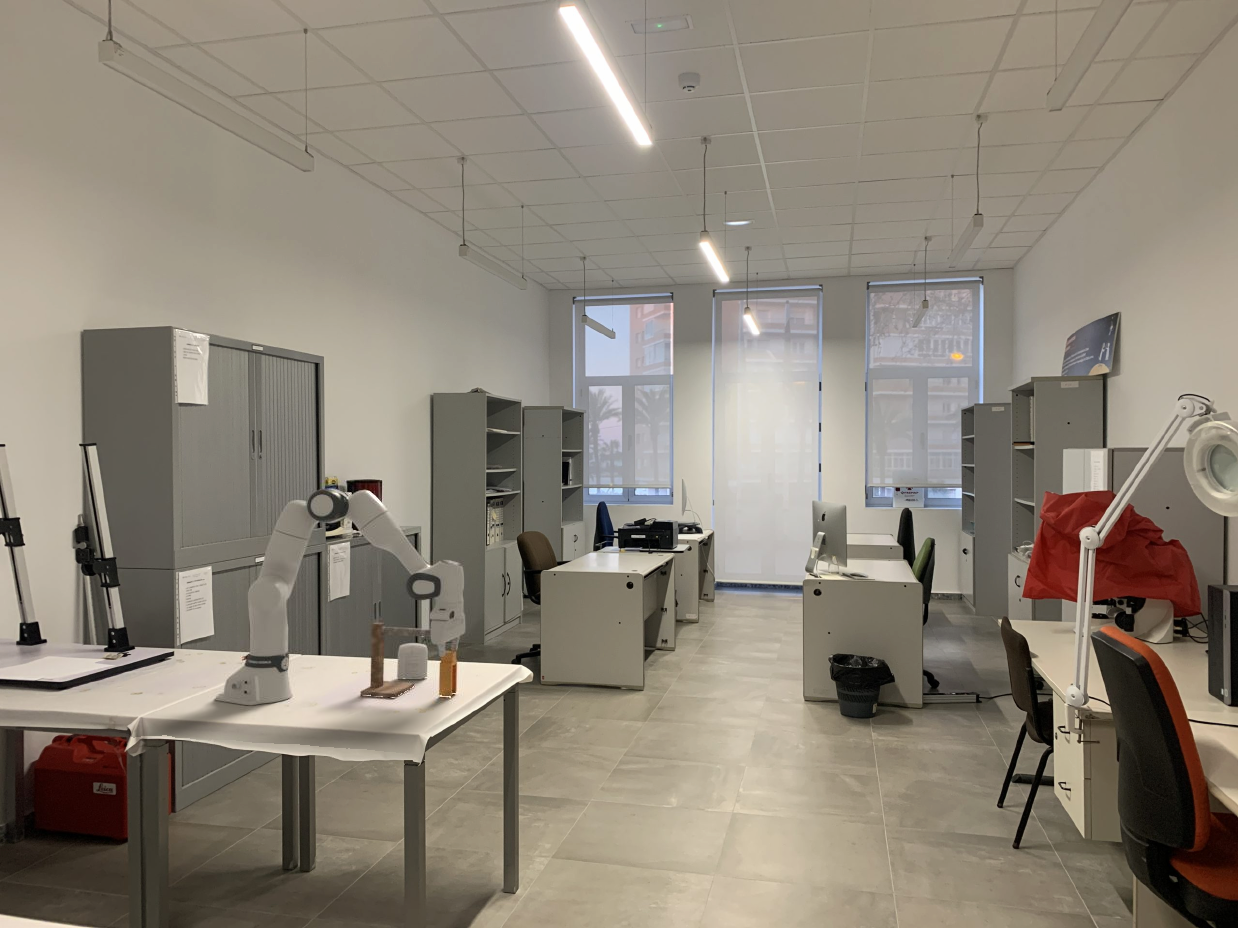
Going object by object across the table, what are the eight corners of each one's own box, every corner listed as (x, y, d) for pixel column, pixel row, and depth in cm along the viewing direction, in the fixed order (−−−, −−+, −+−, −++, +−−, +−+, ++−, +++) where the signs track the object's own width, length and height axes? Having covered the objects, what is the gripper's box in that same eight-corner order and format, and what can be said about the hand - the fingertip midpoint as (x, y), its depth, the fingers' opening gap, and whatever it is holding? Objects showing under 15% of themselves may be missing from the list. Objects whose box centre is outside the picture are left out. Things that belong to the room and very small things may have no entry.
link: (439, 697, 257) (439, 653, 257) (444, 693, 261) (445, 650, 262) (450, 698, 256) (451, 653, 256) (456, 694, 261) (457, 650, 261)
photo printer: (427, 676, 283) (428, 641, 284) (426, 679, 279) (427, 644, 279) (398, 677, 282) (398, 642, 282) (396, 680, 278) (397, 644, 278)
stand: (360, 695, 257) (361, 626, 257) (381, 685, 271) (382, 619, 271) (425, 700, 253) (427, 630, 253) (443, 689, 266) (445, 622, 267)
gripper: (453, 605, 270) (452, 646, 270) (427, 614, 250) (426, 659, 250) (470, 605, 269) (469, 647, 269) (446, 615, 249) (445, 660, 249)
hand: (448, 653), depth 259 cm, fingers open, 8 cm apart
